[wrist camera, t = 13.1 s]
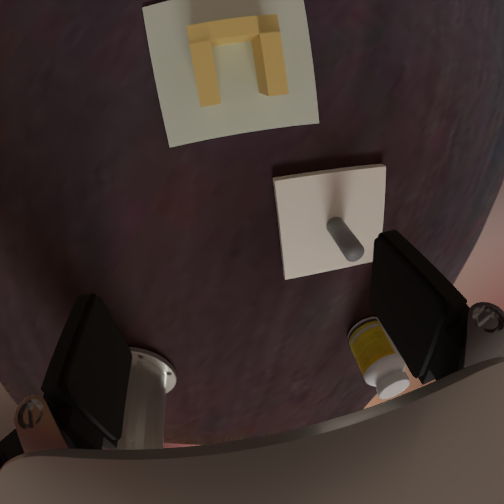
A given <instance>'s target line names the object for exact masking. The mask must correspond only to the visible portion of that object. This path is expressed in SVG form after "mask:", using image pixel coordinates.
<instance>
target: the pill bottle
mask: <svg viewBox="0 0 504 504" xmlns="http://www.w3.org/2000/svg"><path fill="white" fill-rule="evenodd" d="M348 342H349V345H350V347H351V349H352V352H353V354H354V356H355V359H356V361H357V363H358V366H359V368H360V370H361V373H362V375H363V377H364V379H365V381H366V383H367V384H369V385H371V386H376V391H377V393H378V396H379V397H380V398H381V399H388V398H391V397H394V396H396V395H398V394H400V393H401V392H402V391H404V390H405V389H406V388H407V387H408V386H409V384H410V380H409V378H408V376H407V374H406V373H405V372H403V371H404V369H405V366H406V363H405V362H404V360H403V358H402V357H401V355H400V353H399V352H398V350H397V348H396V347H395V345H394V344H393V342H392V340H391V339H390V337H389V335H388V334H387V332H386V331H385V329H384V327H383V326H382V324H381V323H380V321H379V320H378V318H377V317H369V318H366V319H363V320H361V321H360V322H358V323H357V324H355V325H354V326H353V327H352V329H351V330H350V332H349V334H348Z"/></svg>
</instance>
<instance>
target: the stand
mask: <svg viewBox="0 0 504 504" xmlns="http://www.w3.org/2000/svg"><path fill="white" fill-rule="evenodd" d="M385 183H386V166H385V165H383V164H372V165H362V166H354V167H345V168H337V169H329V170H322V171H314V172H307V173H300V174H293V175H287V176H280V177H274V178H273V184H274V192H275V201H276V209H277V218H278V227H279V236H280V245H281V254H282V264H283V274H284V277H285V280H286V279H292V278H297V277H302V276H307V275H312V274H316V273H321V272H326V271H331V270H336V269H341V268H345V267H350V266H355V265H359V264H364V263H368V262H373V250H374V240H375V239H376V238H378V235H379V233H382V230H383V217H384V203H385Z"/></svg>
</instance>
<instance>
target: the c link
mask: <svg viewBox="0 0 504 504" xmlns="http://www.w3.org/2000/svg"><path fill="white" fill-rule="evenodd" d="M186 28H187V34H188V39H189V45H190V51H191V56H192V62H193V68H194V73H195V79H196V84H197V90H198V95H199V100H200V106H201V107H205V106H210V105H216V104H221V99H220V93H219V88H218V82H217V76H216V70H215V64H214V58H213V53H212V46H218V45H225V44H231V43H239V42H246V41H251V43H252V49H253V55H254V62H255V68H256V75H257V82H258V88H259V93H261V94H264V95H266V96H276V95H285V94H289V92H288V85H287V77H286V69H285V62H284V55H283V48H282V41H281V35H280V28H279V22H278V16H277V14H269V15H257V16H246V17H238V18H230V19H223V20H216V21H210V22H204V23H199V24H194V25H189V26H186Z"/></svg>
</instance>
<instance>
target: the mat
mask: <svg viewBox="0 0 504 504" xmlns="http://www.w3.org/2000/svg"><path fill="white" fill-rule="evenodd" d="M142 9H143V15H144V21H145V27H146V33H147V39H148V45H149V50H150V56H151V61H152V66H153V71H154V76H155V81H156V86H157V91H158V96H159V101H160V106H161V110H162V115H163V120H164V124H165V129H166V133H167V137H168V142H169V146H170V147H175V146H179V145H183V144H188V143H193V142H197V141H202V140H207V139H212V138H217V137H223V136H228V135H234V134H240V133H246V132H252V131H259V130H265V129H273V128H280V127H288V126H296V125H305V124H315V123H319V116H318V105H317V95H316V86H315V77H314V69H313V60H312V53H311V45H310V38H309V31H308V25H307V18H306V12H305V6H304V0H169V1H165V2H161V3H157V4H153V5H150V6H146V7H143V8H142ZM269 14H277V16H278V22H279V28H280V35H281V41H282V48H283V55H284V62H285V69H286V77H287V85H288V92H289V94H285V95H276V96H266V95H264V94H261V93H259V88H258V82H257V75H256V68H255V62H254V55H253V49H252V43H251V41H246V42H239V43H231V44H225V45H218V46H212V53H213V58H214V64H215V70H216V76H217V82H218V88H219V93H220V99H221V104H216V105H210V106H205V107H201V106H200V100H199V95H198V90H197V84H196V79H195V73H194V68H193V62H192V56H191V51H190V45H189V39H188V34H187V28H186V26H189V25H194V24H199V23H204V22H210V21H216V20H223V19H230V18H238V17H246V16H257V15H269Z"/></svg>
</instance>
